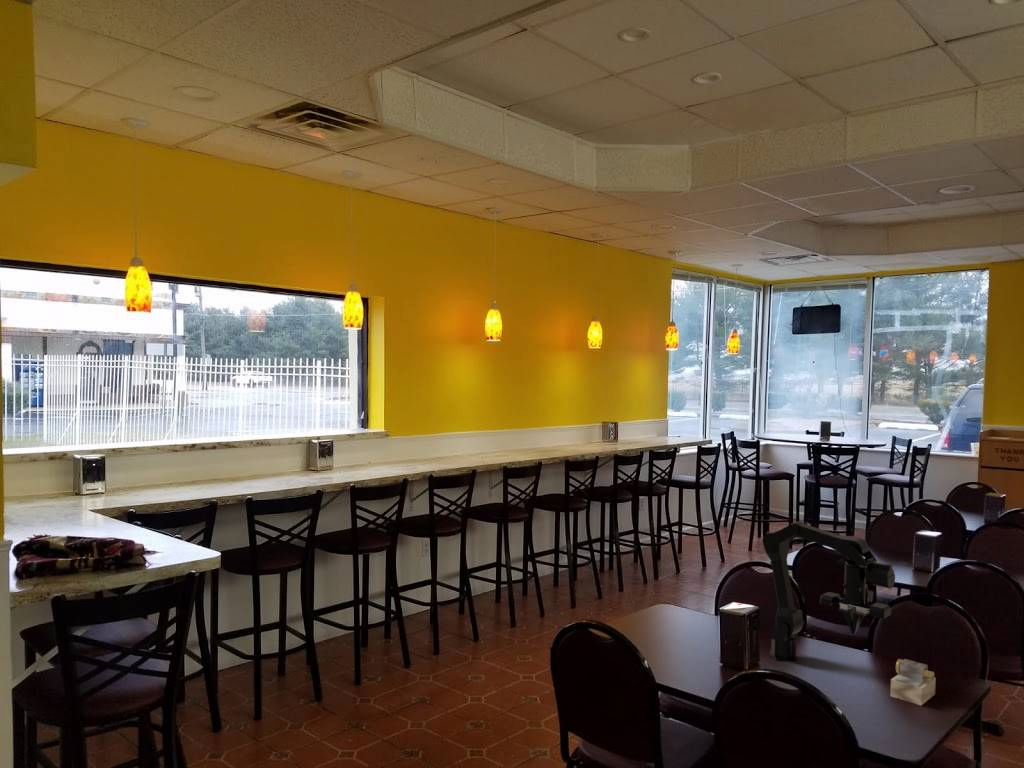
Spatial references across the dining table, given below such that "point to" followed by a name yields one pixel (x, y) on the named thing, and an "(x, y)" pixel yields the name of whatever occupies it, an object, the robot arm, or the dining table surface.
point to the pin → (925, 672)
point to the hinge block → (912, 683)
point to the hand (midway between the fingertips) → (853, 633)
